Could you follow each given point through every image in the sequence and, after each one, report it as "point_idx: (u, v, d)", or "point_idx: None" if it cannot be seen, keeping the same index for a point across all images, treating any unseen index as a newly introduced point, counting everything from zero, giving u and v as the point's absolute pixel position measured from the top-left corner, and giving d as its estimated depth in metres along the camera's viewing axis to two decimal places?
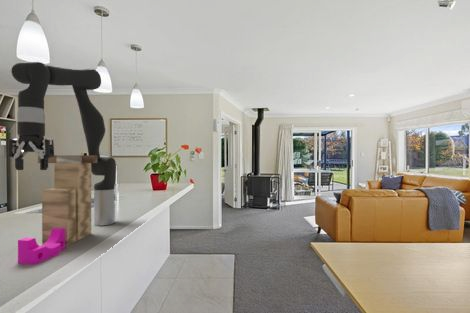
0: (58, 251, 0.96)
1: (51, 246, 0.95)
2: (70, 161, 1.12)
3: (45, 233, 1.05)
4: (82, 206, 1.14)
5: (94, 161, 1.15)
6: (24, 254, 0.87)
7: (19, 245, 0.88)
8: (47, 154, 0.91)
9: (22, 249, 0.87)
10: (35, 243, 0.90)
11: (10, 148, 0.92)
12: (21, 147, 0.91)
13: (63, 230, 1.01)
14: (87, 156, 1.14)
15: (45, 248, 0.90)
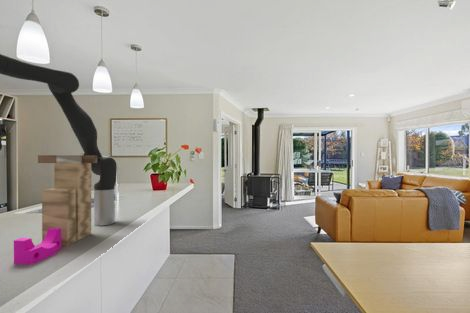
0: (54, 251, 0.96)
1: (47, 246, 0.95)
2: (70, 161, 1.12)
3: (45, 233, 1.05)
4: (82, 206, 1.14)
5: (94, 161, 1.15)
6: (20, 254, 0.87)
7: (15, 245, 0.87)
8: None
9: (18, 249, 0.87)
10: (31, 243, 0.89)
11: None
12: None
13: (59, 230, 1.01)
14: (87, 156, 1.14)
15: (41, 248, 0.90)
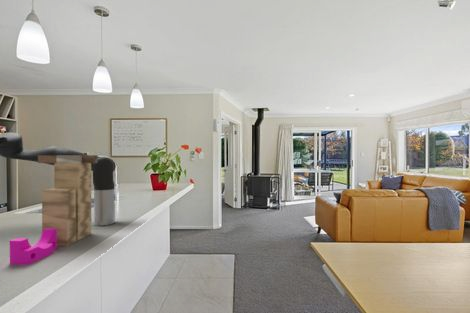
0: (50, 251, 0.95)
1: (43, 246, 0.95)
2: (70, 161, 1.12)
3: None
4: (82, 206, 1.14)
5: (94, 161, 1.15)
6: (16, 255, 0.87)
7: (11, 246, 0.87)
8: None
9: (15, 250, 0.87)
10: (27, 243, 0.89)
11: None
12: None
13: (55, 230, 1.01)
14: (87, 156, 1.14)
15: (37, 248, 0.90)
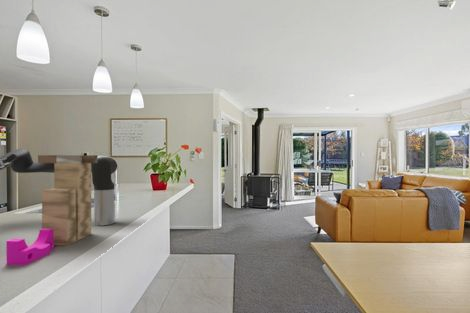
0: (47, 251, 0.95)
1: (40, 247, 0.95)
2: (70, 161, 1.12)
3: None
4: (82, 206, 1.14)
5: (94, 161, 1.15)
6: (13, 255, 0.86)
7: (7, 246, 0.87)
8: None
9: (11, 250, 0.86)
10: (24, 244, 0.89)
11: None
12: None
13: (51, 230, 1.00)
14: (87, 156, 1.14)
15: (34, 248, 0.90)
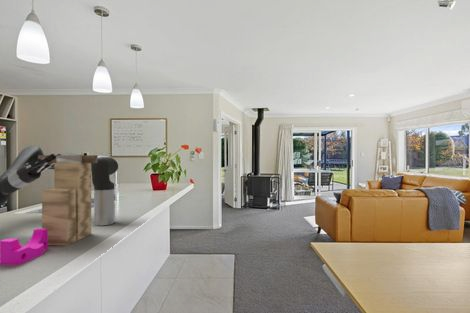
0: (41, 251, 0.95)
1: (34, 247, 0.95)
2: (70, 161, 1.12)
3: None
4: (82, 206, 1.14)
5: (94, 161, 1.15)
6: (7, 255, 0.86)
7: (1, 246, 0.86)
8: None
9: (5, 250, 0.86)
10: (18, 244, 0.89)
11: None
12: None
13: (46, 230, 1.00)
14: (87, 156, 1.14)
15: (28, 248, 0.90)
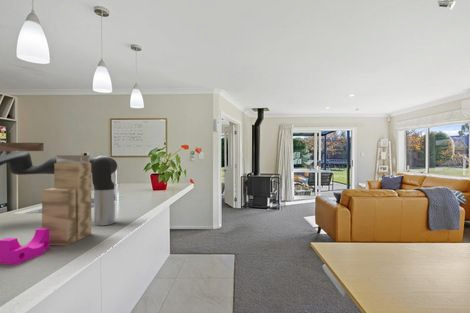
0: (41, 251, 0.95)
1: (34, 246, 0.95)
2: (70, 161, 1.12)
3: None
4: (82, 206, 1.14)
5: (39, 148, 1.07)
6: (5, 254, 0.87)
7: (0, 245, 0.87)
8: None
9: (4, 249, 0.87)
10: (17, 243, 0.89)
11: None
12: None
13: (47, 230, 1.01)
14: (31, 144, 1.06)
15: (27, 248, 0.90)
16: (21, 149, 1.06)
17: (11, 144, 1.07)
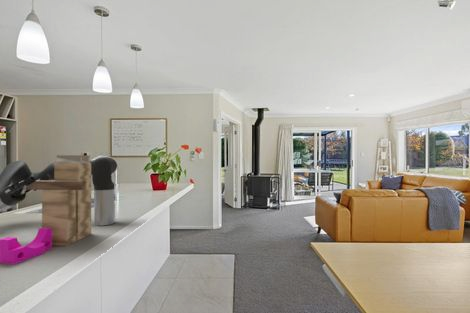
0: (42, 251, 0.96)
1: (35, 246, 0.95)
2: (70, 161, 1.12)
3: None
4: (82, 206, 1.14)
5: (82, 187, 1.06)
6: (5, 253, 0.88)
7: (0, 244, 0.88)
8: None
9: (3, 248, 0.88)
10: (17, 243, 0.90)
11: None
12: None
13: (49, 230, 1.01)
14: (75, 183, 1.05)
15: (26, 248, 0.90)
16: (64, 188, 1.05)
17: (54, 183, 1.06)
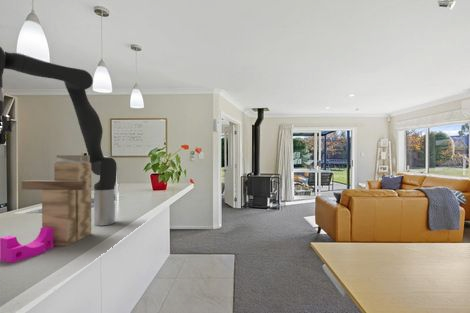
0: (41, 250, 0.96)
1: (35, 245, 0.96)
2: (70, 161, 1.12)
3: None
4: (82, 206, 1.14)
5: (82, 187, 1.06)
6: (4, 252, 0.89)
7: (0, 243, 0.90)
8: (4, 129, 0.97)
9: (3, 247, 0.89)
10: (16, 242, 0.91)
11: None
12: None
13: (51, 229, 1.02)
14: (75, 183, 1.05)
15: (25, 247, 0.91)
16: (64, 188, 1.05)
17: (54, 183, 1.06)
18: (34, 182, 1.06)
